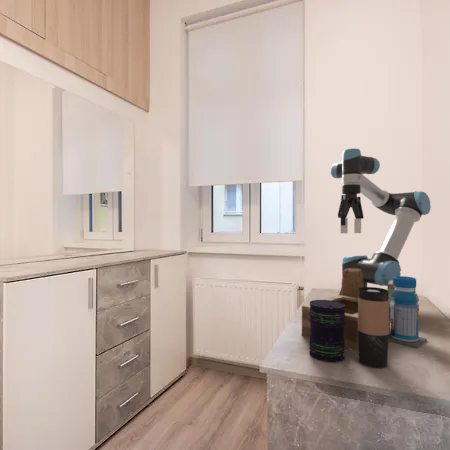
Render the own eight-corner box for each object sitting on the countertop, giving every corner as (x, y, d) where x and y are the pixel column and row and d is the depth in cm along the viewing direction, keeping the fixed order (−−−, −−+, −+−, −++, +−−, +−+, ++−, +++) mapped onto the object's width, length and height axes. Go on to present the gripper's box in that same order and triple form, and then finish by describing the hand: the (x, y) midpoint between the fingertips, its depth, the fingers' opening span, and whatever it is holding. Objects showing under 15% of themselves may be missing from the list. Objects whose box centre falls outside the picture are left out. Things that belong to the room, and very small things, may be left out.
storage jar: (304, 349, 96) (304, 299, 96) (335, 348, 96) (336, 299, 96) (316, 363, 86) (316, 308, 86) (351, 362, 86) (351, 307, 87)
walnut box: (339, 319, 127) (339, 294, 127) (390, 331, 113) (390, 303, 113) (301, 335, 108) (301, 305, 108) (356, 351, 94) (356, 317, 94)
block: (359, 321, 125) (359, 270, 125) (339, 318, 129) (340, 269, 129) (365, 315, 133) (365, 268, 134) (347, 312, 138) (347, 266, 138)
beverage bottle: (403, 343, 99) (403, 279, 99) (384, 334, 107) (384, 276, 108) (425, 341, 101) (425, 279, 101) (404, 333, 109) (404, 275, 110)
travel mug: (392, 362, 87) (392, 289, 87) (383, 371, 81) (384, 293, 81) (363, 354, 92) (363, 285, 92) (353, 362, 86) (354, 289, 86)
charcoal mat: (394, 332, 111) (394, 331, 111) (426, 340, 104) (426, 338, 104) (383, 339, 104) (383, 337, 104) (417, 348, 97) (417, 346, 97)
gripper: (346, 181, 127) (346, 233, 127) (371, 186, 145) (371, 233, 144) (329, 182, 133) (329, 233, 132) (355, 188, 150) (354, 232, 150)
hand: (351, 233), depth 138 cm, fingers open, 13 cm apart
